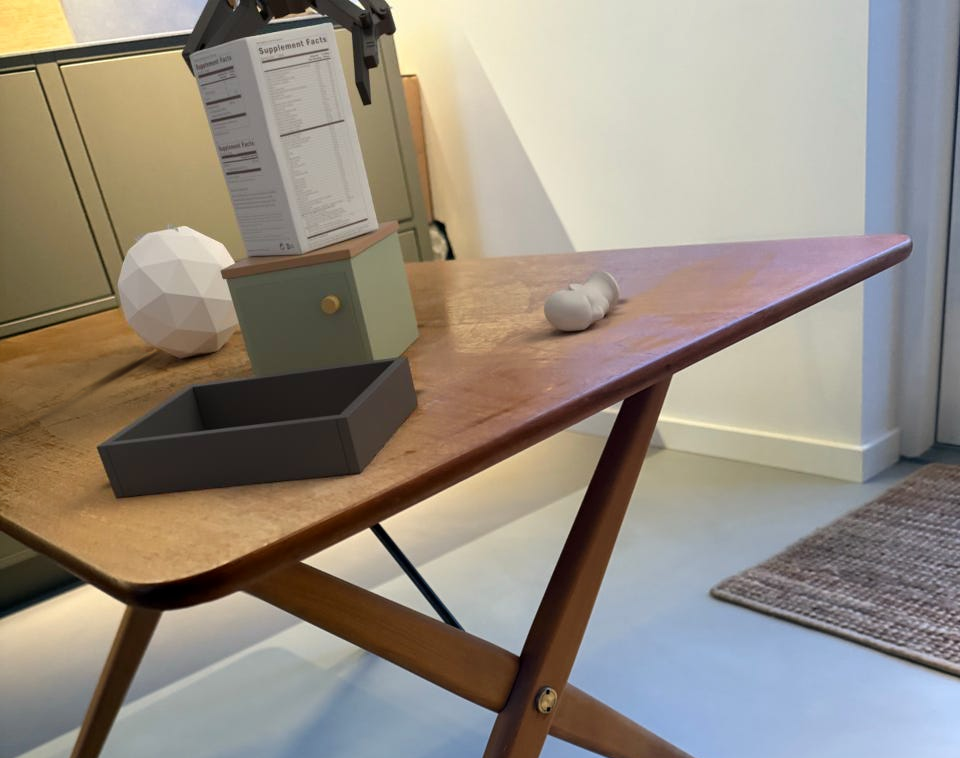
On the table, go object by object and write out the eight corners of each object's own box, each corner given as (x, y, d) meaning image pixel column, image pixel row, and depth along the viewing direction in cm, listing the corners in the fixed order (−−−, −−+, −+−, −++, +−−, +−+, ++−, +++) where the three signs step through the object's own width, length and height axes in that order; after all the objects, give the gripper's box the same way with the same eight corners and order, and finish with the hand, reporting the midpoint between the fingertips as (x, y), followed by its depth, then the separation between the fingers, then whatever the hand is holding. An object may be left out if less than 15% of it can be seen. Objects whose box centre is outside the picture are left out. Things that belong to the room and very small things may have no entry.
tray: (115, 498, 76) (95, 446, 74) (203, 430, 88) (188, 385, 86) (360, 473, 70) (346, 416, 68) (418, 405, 83) (407, 355, 81)
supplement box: (323, 233, 101) (276, 37, 93) (382, 229, 95) (336, 19, 86) (243, 257, 96) (184, 52, 88) (299, 255, 89) (242, 34, 81)
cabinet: (251, 397, 95) (214, 272, 90) (311, 351, 108) (281, 240, 103) (376, 381, 92) (345, 250, 87) (422, 335, 105) (397, 219, 99)
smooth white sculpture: (572, 350, 93) (534, 329, 96) (634, 323, 97) (595, 304, 100) (575, 304, 90) (536, 285, 93) (639, 279, 94) (599, 261, 97)
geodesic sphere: (72, 323, 116) (88, 207, 107) (159, 291, 127) (180, 183, 117) (175, 398, 115) (200, 288, 105) (254, 359, 125) (284, 256, 116)
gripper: (416, -63, 102) (433, 111, 96) (179, -7, 106) (182, 164, 100) (397, -136, 95) (414, 47, 89) (144, -74, 99) (145, 106, 93)
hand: (292, 109), depth 95 cm, fingers open, 13 cm apart
